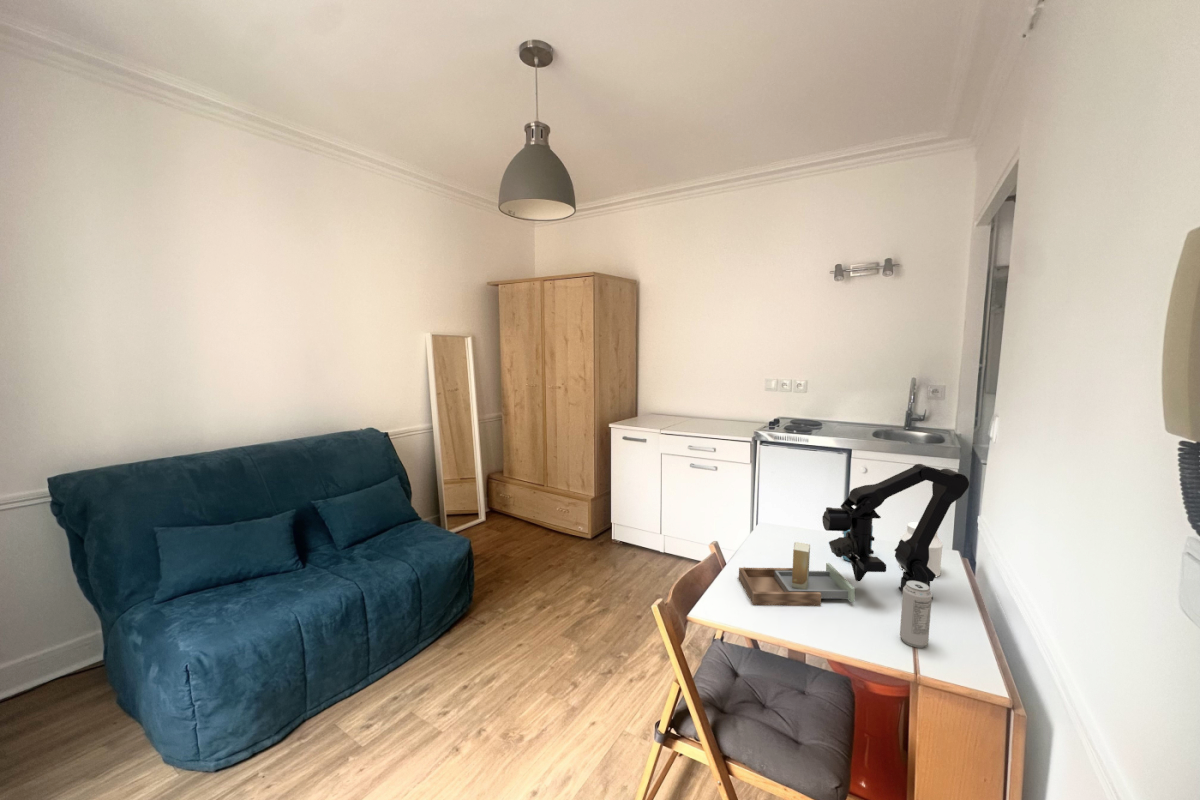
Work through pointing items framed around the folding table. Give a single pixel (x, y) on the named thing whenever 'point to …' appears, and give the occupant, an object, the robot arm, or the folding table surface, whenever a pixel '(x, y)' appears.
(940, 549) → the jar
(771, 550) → the folding table surface
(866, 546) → the robot arm
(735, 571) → the folding table surface
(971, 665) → the folding table surface
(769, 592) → the caddy
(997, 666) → the folding table surface
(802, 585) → the skincare box
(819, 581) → the tray
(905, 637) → the energy drink can
